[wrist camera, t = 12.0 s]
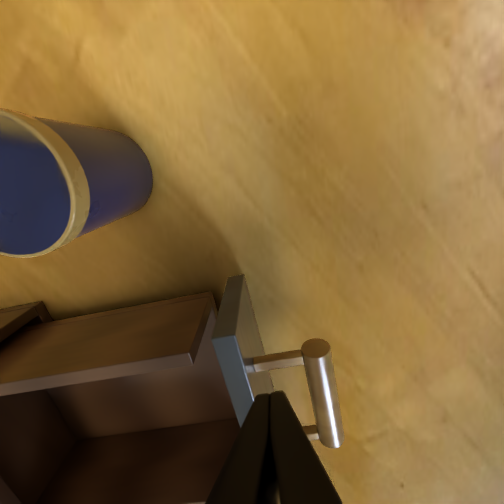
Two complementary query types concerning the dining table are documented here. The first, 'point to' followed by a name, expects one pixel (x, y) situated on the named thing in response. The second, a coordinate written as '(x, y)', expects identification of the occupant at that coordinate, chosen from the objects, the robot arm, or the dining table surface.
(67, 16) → the dining table surface
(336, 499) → the robot arm
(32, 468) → the drawer
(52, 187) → the tea tin
